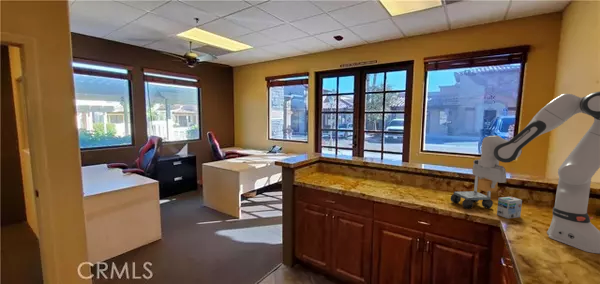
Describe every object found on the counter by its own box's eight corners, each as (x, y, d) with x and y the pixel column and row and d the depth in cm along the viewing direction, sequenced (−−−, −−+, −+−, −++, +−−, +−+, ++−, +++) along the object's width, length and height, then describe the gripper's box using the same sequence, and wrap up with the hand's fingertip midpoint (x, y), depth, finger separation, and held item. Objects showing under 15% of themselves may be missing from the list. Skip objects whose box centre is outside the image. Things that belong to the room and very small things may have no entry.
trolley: (492, 208, 170) (495, 177, 168) (464, 209, 167) (467, 178, 165) (476, 201, 183) (479, 173, 181) (450, 202, 180) (452, 173, 178)
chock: (497, 190, 152) (497, 180, 151) (484, 191, 151) (485, 181, 150) (489, 188, 157) (490, 178, 156) (477, 188, 156) (478, 179, 155)
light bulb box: (507, 218, 153) (509, 201, 152) (496, 214, 159) (497, 197, 158) (520, 217, 156) (522, 199, 155) (509, 213, 162) (511, 196, 161)
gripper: (510, 166, 142) (508, 191, 144) (480, 160, 162) (478, 181, 164) (500, 166, 141) (498, 191, 143) (471, 160, 162) (469, 182, 163)
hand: (487, 186), depth 153 cm, fingers closed on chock, 5 cm apart
